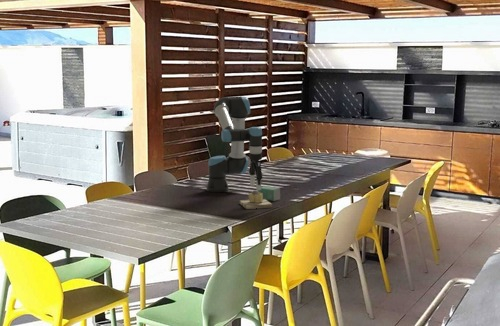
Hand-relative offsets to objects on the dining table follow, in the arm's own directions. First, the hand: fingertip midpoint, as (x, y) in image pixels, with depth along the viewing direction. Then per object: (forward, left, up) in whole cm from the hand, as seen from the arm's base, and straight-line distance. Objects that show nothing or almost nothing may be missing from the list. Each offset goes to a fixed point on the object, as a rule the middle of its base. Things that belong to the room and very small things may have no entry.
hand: (255, 187), depth 361 cm
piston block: (0, 0, -11) cm, 11 cm away
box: (-16, +13, -11) cm, 24 cm away
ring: (0, 0, -8) cm, 8 cm away
